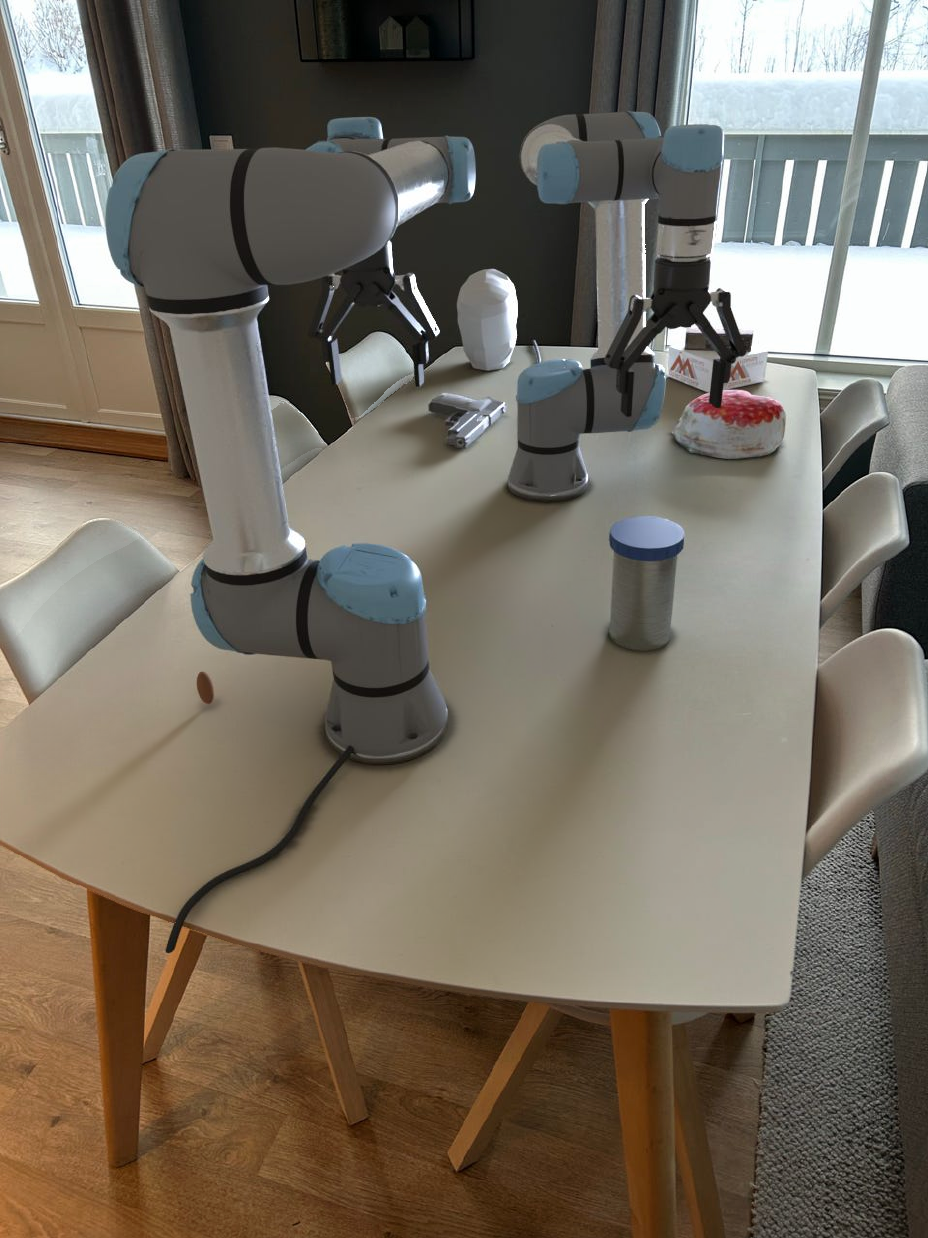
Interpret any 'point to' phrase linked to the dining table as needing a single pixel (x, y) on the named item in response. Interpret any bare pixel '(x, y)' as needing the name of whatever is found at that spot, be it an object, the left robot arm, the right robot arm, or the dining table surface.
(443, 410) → the pistol
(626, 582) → the jar
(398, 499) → the dining table surface
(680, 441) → the cake
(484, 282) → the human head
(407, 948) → the dining table surface
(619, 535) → the lid
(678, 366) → the white cardboard box
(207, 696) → the brown oval piece
